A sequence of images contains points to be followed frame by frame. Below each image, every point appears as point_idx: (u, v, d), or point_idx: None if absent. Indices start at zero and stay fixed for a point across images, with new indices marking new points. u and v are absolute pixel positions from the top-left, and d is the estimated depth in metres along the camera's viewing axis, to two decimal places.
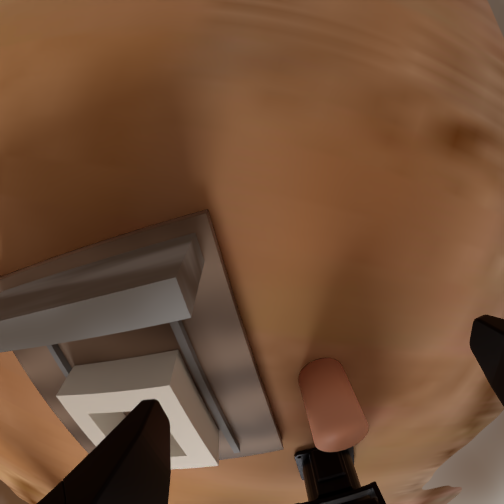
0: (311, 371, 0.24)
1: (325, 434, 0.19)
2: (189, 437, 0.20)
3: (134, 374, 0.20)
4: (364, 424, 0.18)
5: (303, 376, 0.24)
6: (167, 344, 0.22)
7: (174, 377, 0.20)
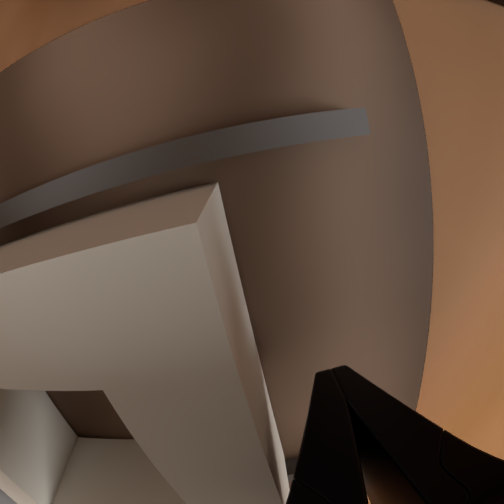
0: None
1: None
2: None
3: None
4: None
5: None
6: None
7: None
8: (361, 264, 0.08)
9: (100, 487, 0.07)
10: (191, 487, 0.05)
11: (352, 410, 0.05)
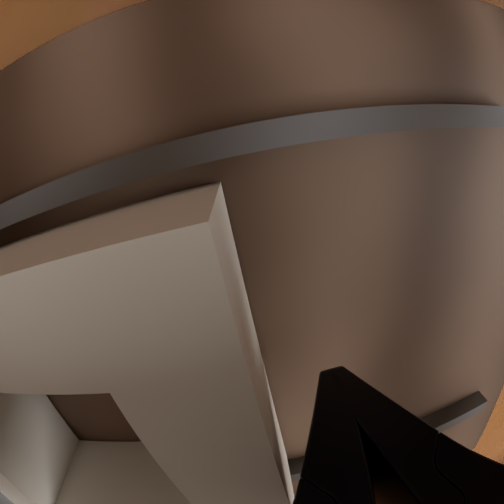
0: None
1: None
2: None
3: None
4: None
5: None
6: None
7: None
8: None
9: (103, 490, 0.07)
10: (198, 489, 0.05)
11: (348, 411, 0.05)
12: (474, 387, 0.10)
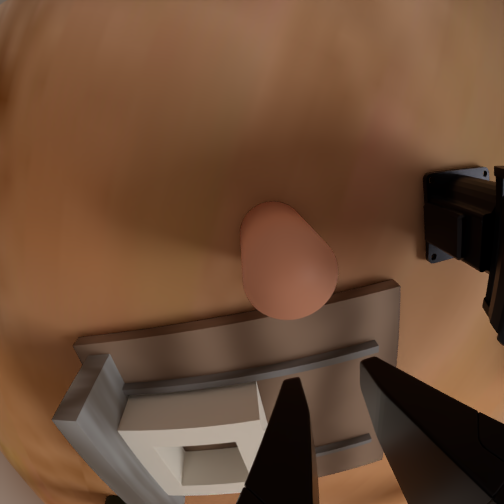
0: None
1: (277, 305, 0.13)
2: (195, 435, 0.18)
3: None
4: (270, 242, 0.12)
5: None
6: None
7: (125, 419, 0.19)
8: None
9: (203, 470, 0.22)
10: (249, 461, 0.19)
11: (389, 398, 0.05)
12: (365, 431, 0.25)
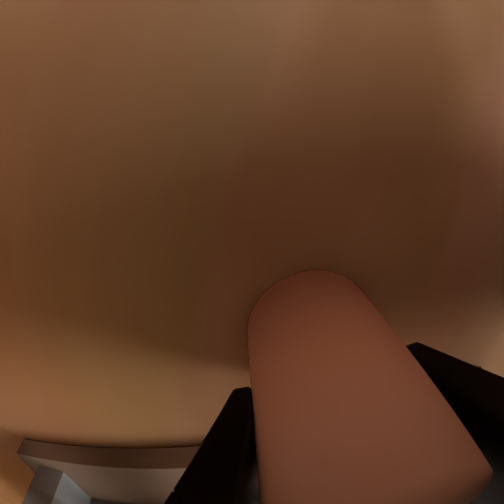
0: None
1: None
2: None
3: None
4: None
5: None
6: None
7: None
8: None
9: None
10: None
11: (439, 379, 0.05)
12: None
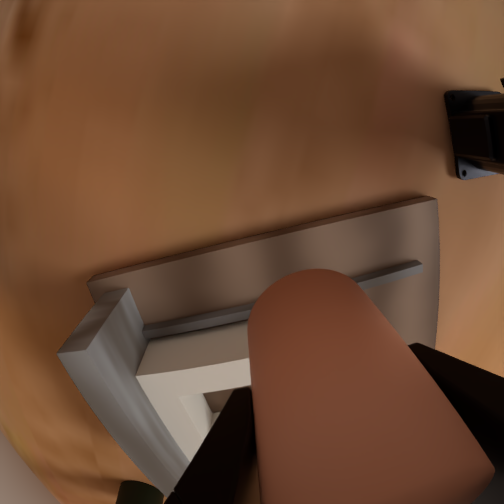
0: None
1: None
2: (229, 373, 0.17)
3: None
4: None
5: None
6: None
7: (144, 363, 0.18)
8: (414, 308, 0.21)
9: None
10: None
11: (439, 379, 0.05)
12: None
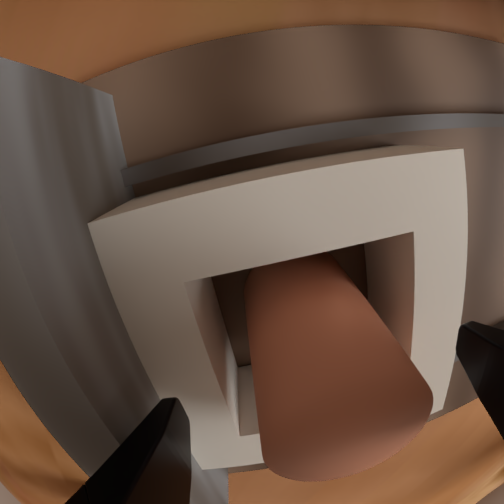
0: None
1: (319, 470, 0.06)
2: (320, 203, 0.07)
3: None
4: (323, 401, 0.05)
5: None
6: None
7: (115, 210, 0.08)
8: None
9: None
10: (424, 319, 0.08)
11: (500, 349, 0.05)
12: None
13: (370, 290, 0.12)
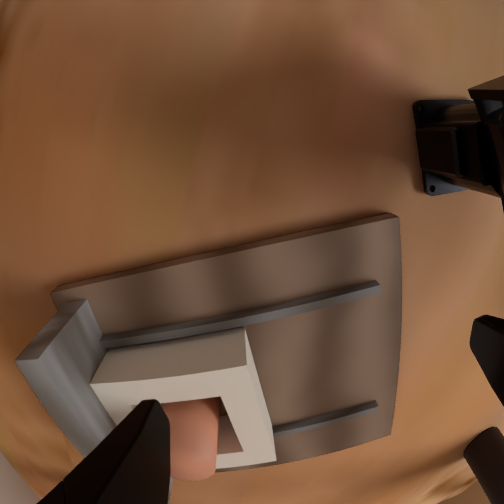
0: None
1: (174, 473, 0.15)
2: (174, 387, 0.17)
3: None
4: None
5: None
6: None
7: (99, 372, 0.18)
8: (373, 329, 0.21)
9: None
10: (238, 424, 0.18)
11: None
12: (371, 398, 0.23)
13: None
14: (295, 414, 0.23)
